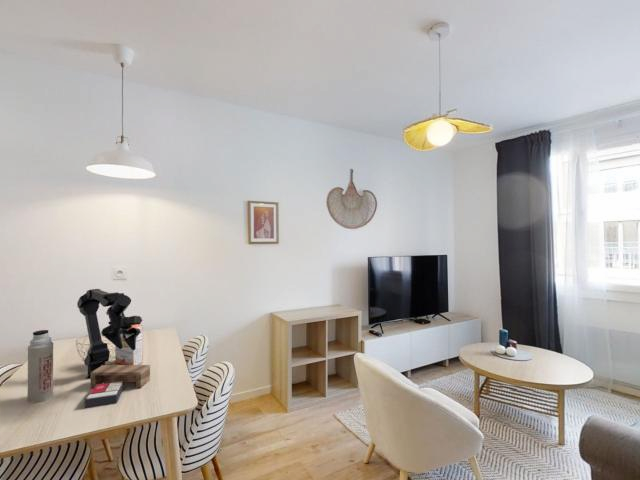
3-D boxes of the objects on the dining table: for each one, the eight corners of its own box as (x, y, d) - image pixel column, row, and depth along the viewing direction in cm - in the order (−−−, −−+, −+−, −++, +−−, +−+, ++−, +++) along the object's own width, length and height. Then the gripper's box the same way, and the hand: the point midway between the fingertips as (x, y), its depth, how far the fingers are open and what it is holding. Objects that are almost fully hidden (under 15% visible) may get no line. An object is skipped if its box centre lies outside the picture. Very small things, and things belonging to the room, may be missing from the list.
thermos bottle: (56, 396, 133) (56, 330, 132) (31, 404, 126) (31, 335, 126) (48, 391, 137) (49, 327, 137) (24, 399, 130) (24, 332, 130)
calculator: (124, 379, 142) (117, 393, 128) (124, 389, 142) (116, 403, 128) (95, 383, 138) (84, 397, 124) (95, 393, 138) (84, 409, 124)
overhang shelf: (90, 388, 140) (90, 372, 140) (102, 380, 148) (102, 365, 148) (140, 388, 141) (140, 372, 141) (149, 380, 149) (150, 365, 149)
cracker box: (114, 363, 168) (114, 324, 168) (125, 359, 173) (125, 321, 173) (132, 367, 162) (133, 327, 162) (143, 363, 168) (143, 324, 168)
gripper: (121, 304, 133) (132, 337, 128) (145, 311, 151) (156, 340, 145) (96, 318, 132) (106, 352, 126) (123, 324, 149) (133, 354, 143)
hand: (127, 349), depth 135 cm, fingers open, 9 cm apart
